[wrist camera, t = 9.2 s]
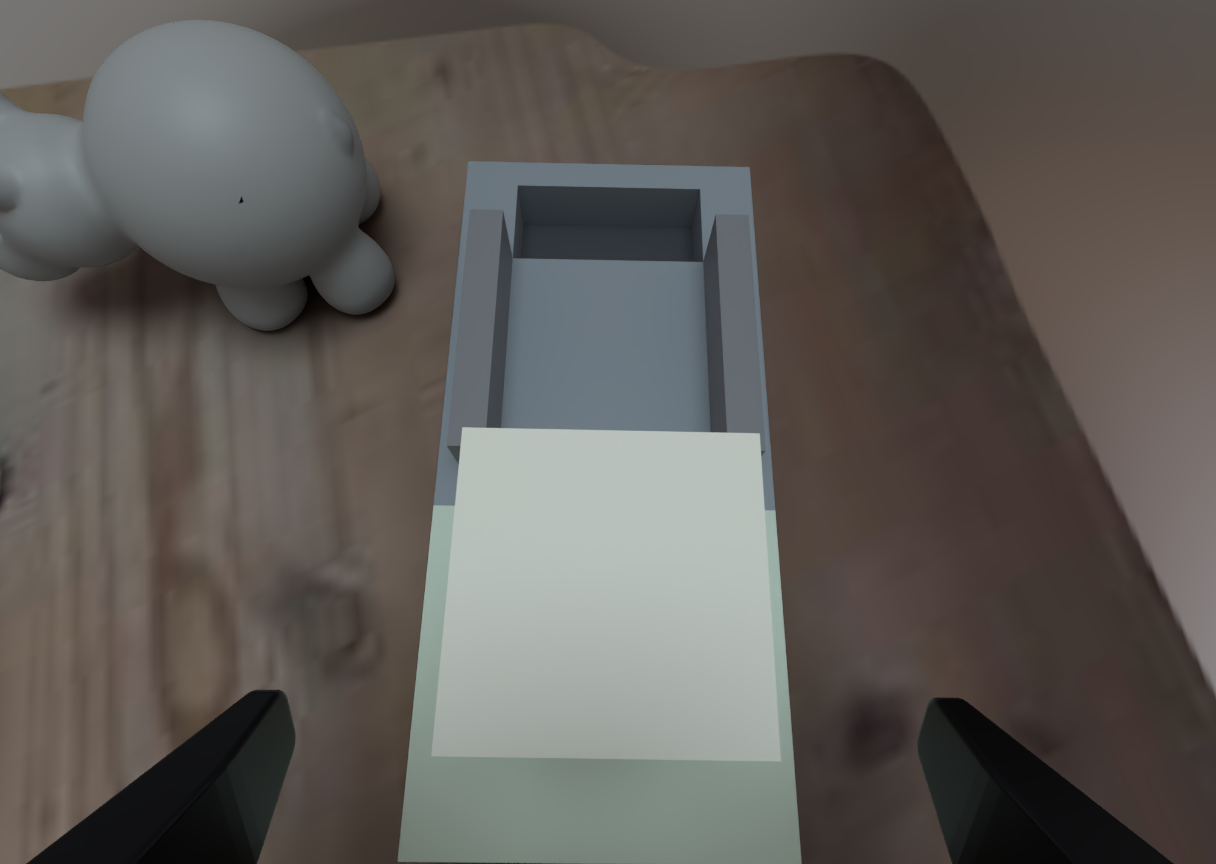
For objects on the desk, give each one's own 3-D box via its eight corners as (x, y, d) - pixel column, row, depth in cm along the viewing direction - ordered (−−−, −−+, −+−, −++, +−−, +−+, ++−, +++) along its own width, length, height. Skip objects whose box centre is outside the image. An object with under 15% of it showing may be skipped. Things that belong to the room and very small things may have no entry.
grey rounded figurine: (71, 210, 26) (-175, -9, 18) (398, 167, 27) (310, -60, 19) (53, 386, 24) (-243, 228, 15) (414, 332, 25) (321, 155, 16)
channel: (776, 842, 19) (835, 896, 14) (422, 839, 19) (365, 891, 14) (735, 212, 27) (766, 112, 22) (479, 207, 26) (454, 105, 22)
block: (683, 717, 18) (780, 761, 9) (517, 715, 18) (431, 756, 8) (680, 551, 19) (759, 433, 10) (526, 549, 19) (462, 427, 10)
